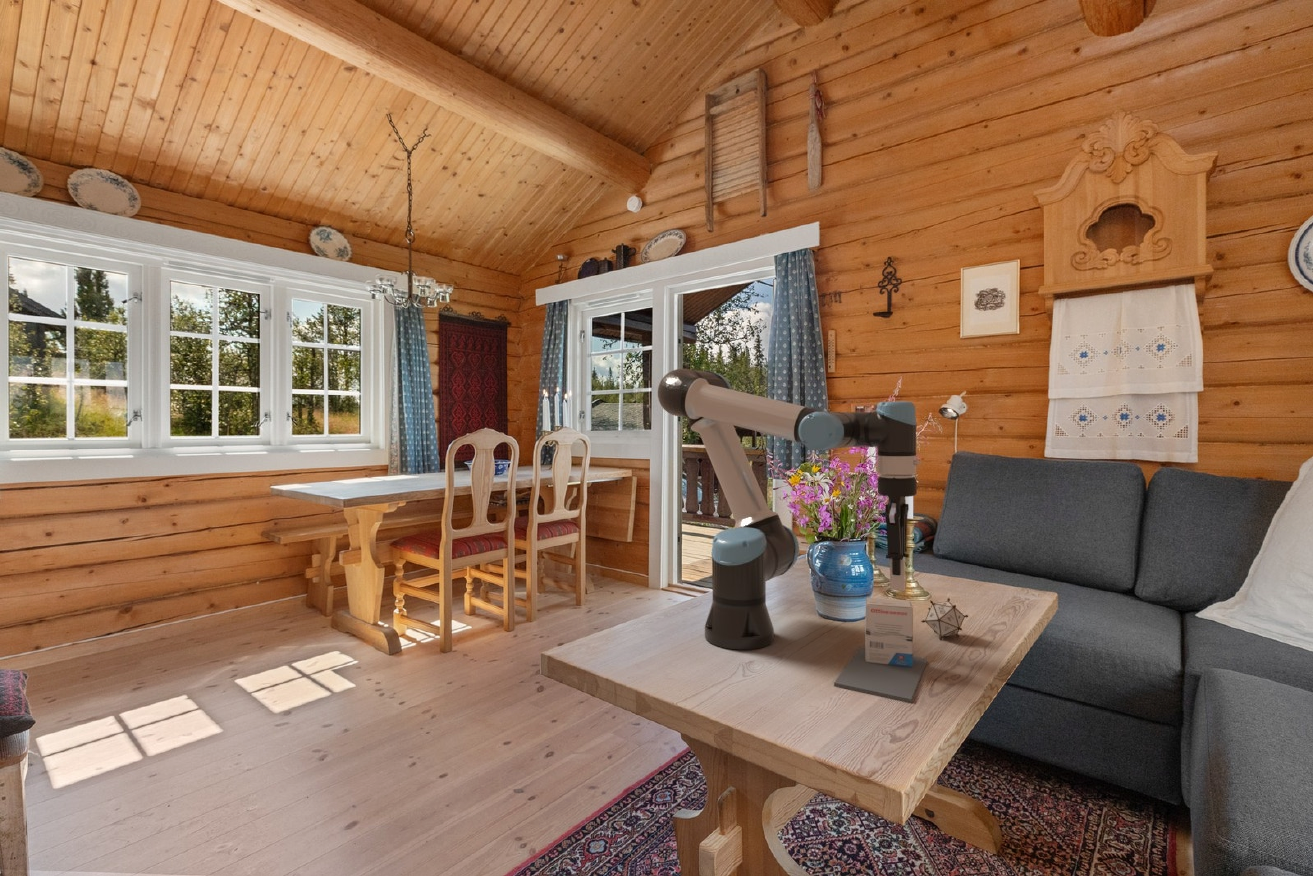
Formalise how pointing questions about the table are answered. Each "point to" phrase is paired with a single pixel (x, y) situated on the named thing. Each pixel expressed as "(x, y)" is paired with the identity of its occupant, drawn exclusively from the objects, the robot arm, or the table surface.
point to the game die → (944, 618)
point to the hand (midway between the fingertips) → (897, 589)
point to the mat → (881, 677)
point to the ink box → (889, 632)
